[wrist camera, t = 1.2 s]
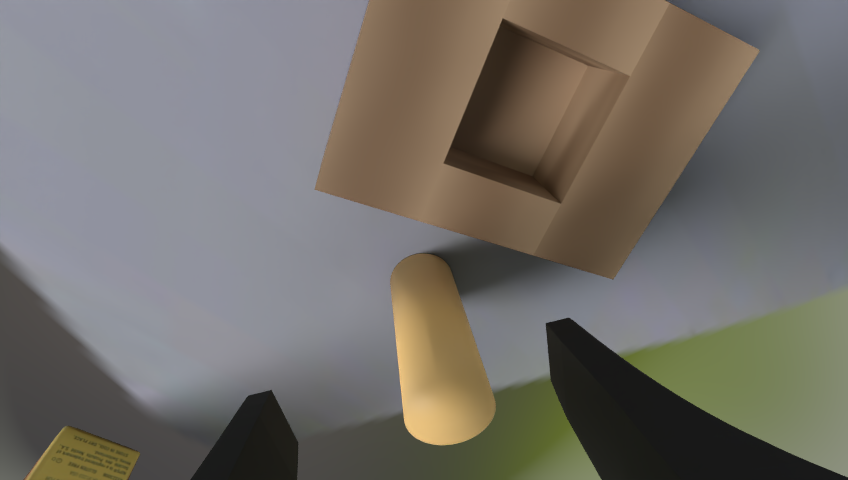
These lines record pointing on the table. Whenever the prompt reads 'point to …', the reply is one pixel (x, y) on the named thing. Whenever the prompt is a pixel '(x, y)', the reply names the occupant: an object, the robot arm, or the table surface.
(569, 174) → the walnut socket block
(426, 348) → the ochre peg
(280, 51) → the table surface
